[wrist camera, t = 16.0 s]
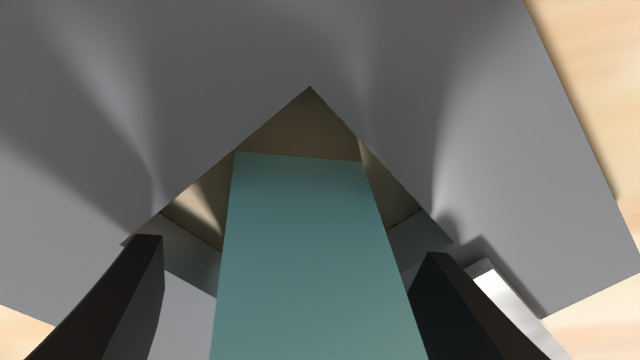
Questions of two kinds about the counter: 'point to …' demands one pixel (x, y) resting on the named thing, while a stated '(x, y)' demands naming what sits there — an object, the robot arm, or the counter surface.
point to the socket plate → (261, 105)
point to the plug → (308, 267)
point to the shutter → (516, 308)
